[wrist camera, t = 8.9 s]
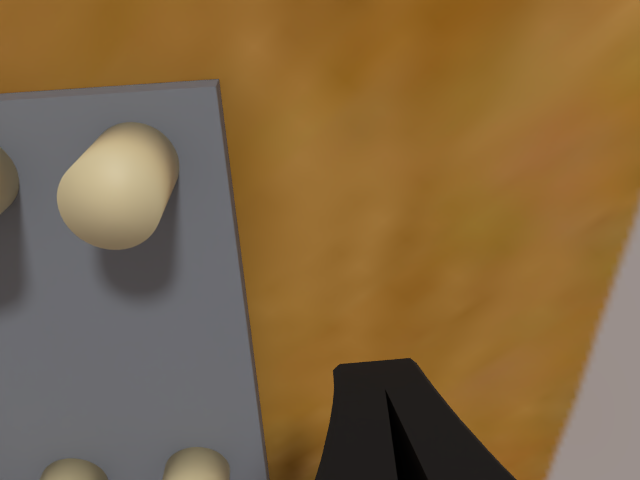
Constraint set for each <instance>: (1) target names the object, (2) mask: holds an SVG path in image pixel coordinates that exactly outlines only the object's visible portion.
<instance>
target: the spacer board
mask: <svg viewBox="0 0 640 480" xmlns="http://www.w3.org/2000/svg"><path fill="white" fill-rule="evenodd" d="M0 480H270V479H269V471H268V463H267V455H266V447H265V439H264V432H263V424H262V416H261V408H260V400H259V392H258V384H257V376H256V368H255V360H254V353H253V345H252V337H251V329H250V321H249V313H248V305H247V297H246V289H245V281H244V274H243V266H242V258H241V250H240V242H239V234H238V226H237V218H236V210H235V202H234V195H233V187H232V179H231V171H230V163H229V155H228V147H227V139H226V131H225V123H224V116H223V108H222V100H221V92H220V84H219V79H213V80H198V81H184V82H169V83H154V84H139V85H124V86H109V87H94V88H79V89H64V90H50V91H35V92H20V93H5V94H0Z"/></svg>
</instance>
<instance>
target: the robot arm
mask: <svg viewBox="0 0 640 480" xmlns="http://www.w3.org/2000/svg"><path fill="white" fill-rule="evenodd" d="M333 376H334V397H333V405H332V412H331V418H330V424H329V428H328V432H327V437H326V441H325V445H324V449H323V454H322V458H321V462H320V465H319V468H318V472H317V475H316V478H315V480H516V479H515V478H514V477H513V476H512V475H511V474H510V473H509V472H508V471H507V470H506V469H505V468H504V467H503V466H502V465H501V464H500V462H499V461H498V460H497V459H496V458H495V457H494V456H493V455H492V454H491V453H490V452H489V451H488V450H487V449H486V448H485V446H484V445H483V444H482V443H481V442H480V441H479V440H478V439H477V438H476V436H475V435H474V434H473V433H472V432H471V431H470V430H469V429H468V428H467V426H466V425H465V424H464V423H463V422H462V421H461V420H460V418H459V417H458V416H457V415H456V414H455V412H454V411H453V410H452V409H451V408H450V406H449V405H448V404H447V403H446V401H445V400H444V399H443V398H442V397H441V395H440V394H439V393H438V392H437V390H436V389H435V388H434V386H433V385H432V384H431V382H430V381H429V380H428V379H427V377H426V376H425V374H424V373H423V372H422V370H421V369H420V368H419V366H418V365H417V363H416V362H414V361H413V360H412V359H411V358H406V359H394V360H383V361H371V362H359V363H348V364H339V365H338V366H337V367H336V368H335V369H334V370H333Z"/></svg>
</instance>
